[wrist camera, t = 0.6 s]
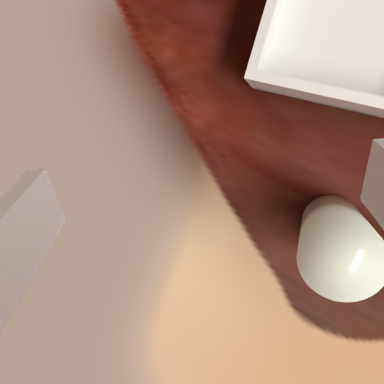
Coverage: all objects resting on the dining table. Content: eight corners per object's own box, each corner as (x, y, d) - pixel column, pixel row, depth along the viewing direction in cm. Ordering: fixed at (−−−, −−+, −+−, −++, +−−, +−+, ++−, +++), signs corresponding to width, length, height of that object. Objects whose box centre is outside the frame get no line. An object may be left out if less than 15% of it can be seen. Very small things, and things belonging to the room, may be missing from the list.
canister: (312, 188, 35) (313, 207, 22) (369, 205, 33) (406, 237, 20) (294, 236, 36) (285, 281, 23) (348, 255, 34) (370, 316, 21)
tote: (305, -87, 32) (304, -127, 28) (514, -77, 27) (557, -125, 22) (252, 88, 36) (243, 78, 32) (426, 128, 31) (446, 122, 26)
